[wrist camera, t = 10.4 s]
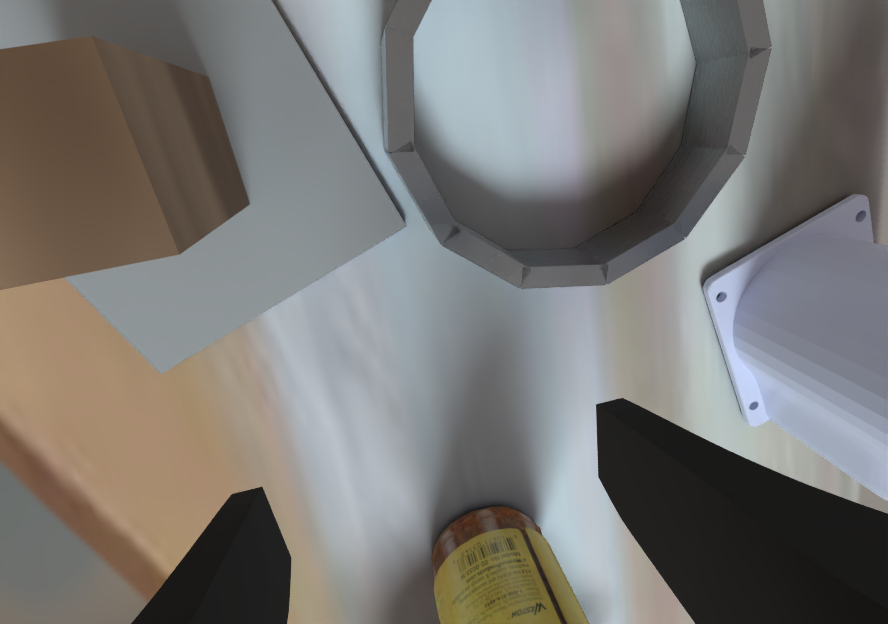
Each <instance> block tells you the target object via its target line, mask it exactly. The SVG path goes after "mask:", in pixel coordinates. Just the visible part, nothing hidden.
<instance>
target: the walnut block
mask: <svg viewBox="0 0 888 624" xmlns="http://www.w3.org/2000/svg"><path fill="white" fill-rule="evenodd" d="M249 205H250V202H249V199H248V196H247V193H246V190H245V187H244V184H243V181H242V178H241V174H240V171H239V168H238V165H237V162H236V159H235V156H234V153H233V150H232V147H231V144H230V141H229V138H228V135H227V131H226V128H225V125H224V122H223V119H222V116H221V113H220V110H219V107H218V104H217V101H216V98H215V95H214V91H213V88H212V85H211V82H210V79H209V77H207V76H204V75H202V74H199V73H196V72H193V71H190V70H187V69H184V68H182V67H179V66H176V65H173V64H170V63H167V62H165V61H162V60H159V59H156V58H153V57H150V56H148V55H145V54H142V53H139V52H136V51H133V50H131V49H128V48H125V47H122V46H119V45H116V44H113V43H111V42H108V41H105V40H102V39H99V38H96V37H94V36H86V37H80V38H73V39H66V40H59V41H52V42H46V43H39V44H32V45H25V46H19V47H12V48H5V49H0V290H2V289H7V288H12V287H18V286H23V285H28V284H33V283H38V282H43V281H48V280H53V279H58V278H63V277H68V276H74V275H79V274H84V273H89V272H94V271H99V270H104V269H109V268H114V267H119V266H124V265H129V264H135V263H140V262H145V261H150V260H155V259H160V258H165V257H170V256H175V255H180V254H181V253H183V252H184V251H185V250H187V249H188V248H190V247H191V246H192V245H194V244H195V243H197V242H198V241H199V240H201V239H202V238H204V237H205V236H206V235H208V234H209V233H211V232H212V231H213V230H215V229H216V228H218V227H219V226H221V225H222V224H223V223H225V222H226V221H228V220H229V219H230V218H232V217H233V216H235V215H236V214H237V213H239V212H240V211H242V210H243V209H244V208H246V207H247V206H249Z"/></svg>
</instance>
